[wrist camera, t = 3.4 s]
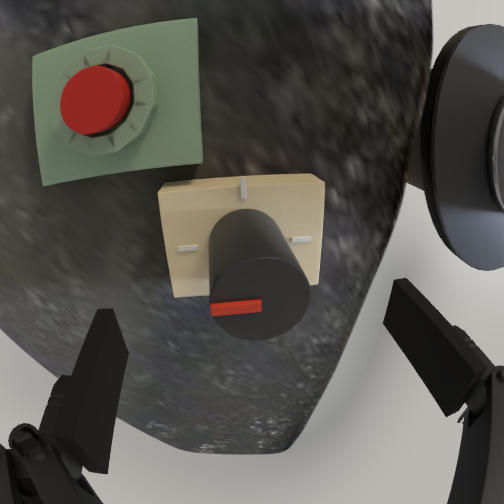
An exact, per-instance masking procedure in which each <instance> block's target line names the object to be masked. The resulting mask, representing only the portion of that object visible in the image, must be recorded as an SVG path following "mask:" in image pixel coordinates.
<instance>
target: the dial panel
mask: <svg viewBox="0 0 504 504" xmlns="http://www.w3.org/2000/svg"><path fill="white" fill-rule="evenodd" d="M324 194H325V182H323V181H322V180H320V179H319V178H317V177H316V176H314V175H313V174H276V175H254V176H236V177H221V178H208V179H196V180H185V181H175V182H165V183H164V184H163V186H162V187H161V189H160V190H159V192H158V200H159V208H160V215H161V222H162V229H163V236H164V242H165V249H166V255H167V261H168V267H169V272H170V278H171V283H172V289H173V294H174V298H176V297H190V296H203V295H209V237H210V233H211V231H212V229H213V227H214V226H215V224H216V223H217V222H218V221H219V220H220V219H221V218H222V217H223V216H225V215H226V214H228V213H230V212H232V211H235V210H239V209H255V210H259V211H261V212H264V213H266V214H267V215H269V216H270V217H271V218H272V219H273V220H274V221H275V222H276V223H277V225H278V227H279V228H280V230H281V232H282V234H283V236H284V237H285V239H286V241H287V243H288V244H289V246H290V248H291V250H292V251H293V253H294V255H295V257H296V259H297V260H298V262H299V264H300V266H301V268H302V269H303V271H304V273H305V275H306V277H307V279H308V281H309V284H310V285H317V284H318V278H319V267H320V255H321V242H322V228H323V213H324Z"/></svg>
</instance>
